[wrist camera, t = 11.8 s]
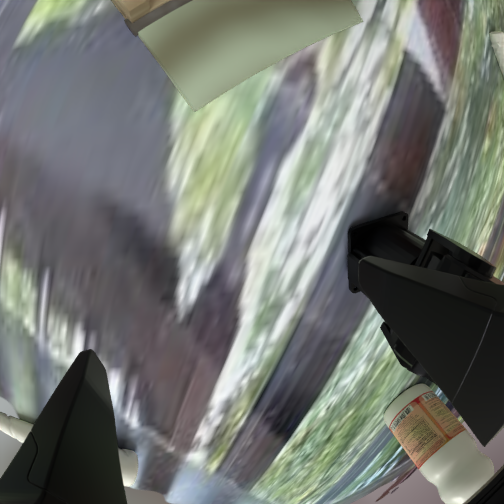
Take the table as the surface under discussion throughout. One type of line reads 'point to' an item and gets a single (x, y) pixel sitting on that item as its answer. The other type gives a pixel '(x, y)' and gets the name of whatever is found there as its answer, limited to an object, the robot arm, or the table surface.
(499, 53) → the beige lumpy upright piece
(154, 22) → the shallow wooden tray
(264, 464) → the table surface
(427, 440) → the fruit juice
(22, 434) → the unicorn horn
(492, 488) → the robot arm
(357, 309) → the table surface
